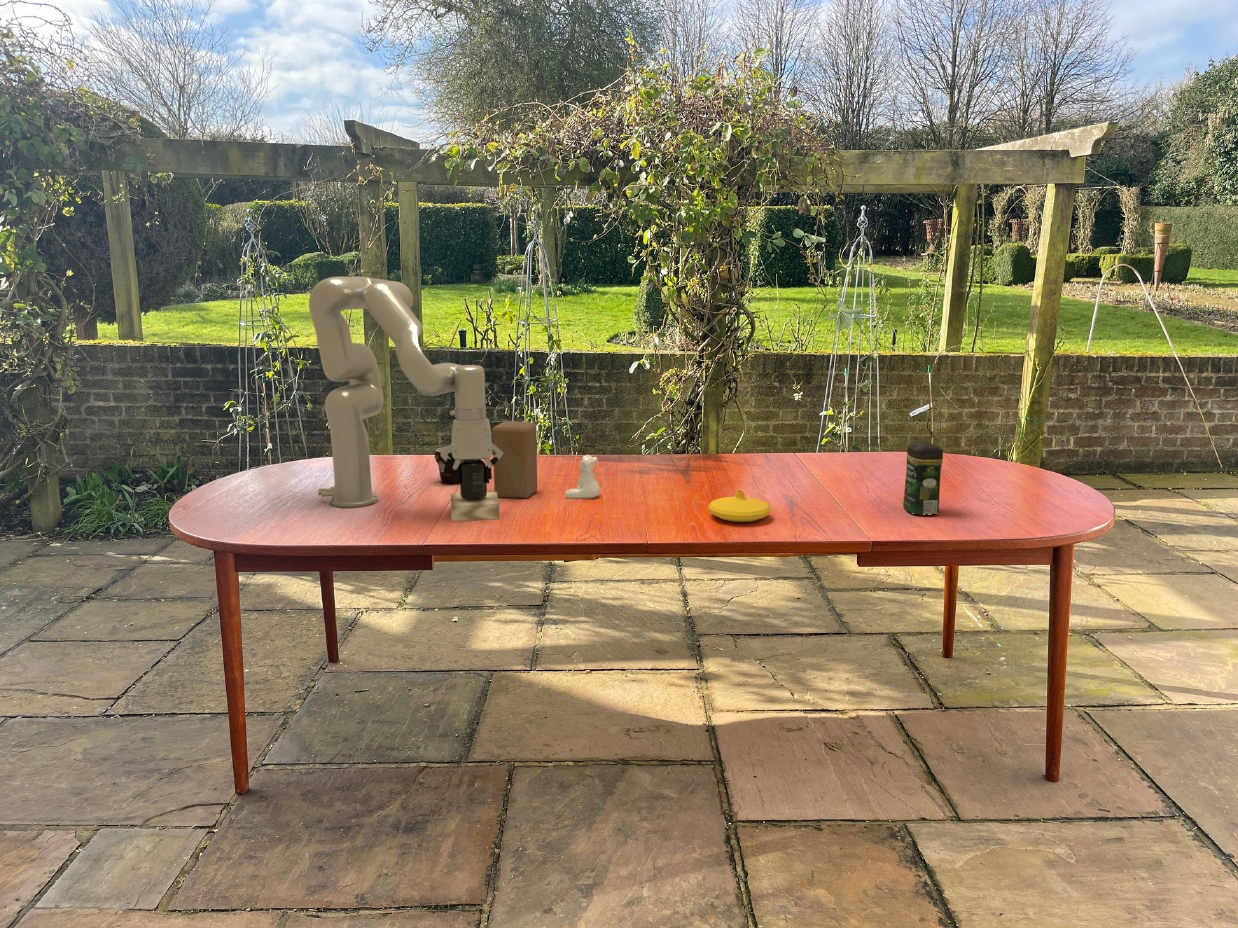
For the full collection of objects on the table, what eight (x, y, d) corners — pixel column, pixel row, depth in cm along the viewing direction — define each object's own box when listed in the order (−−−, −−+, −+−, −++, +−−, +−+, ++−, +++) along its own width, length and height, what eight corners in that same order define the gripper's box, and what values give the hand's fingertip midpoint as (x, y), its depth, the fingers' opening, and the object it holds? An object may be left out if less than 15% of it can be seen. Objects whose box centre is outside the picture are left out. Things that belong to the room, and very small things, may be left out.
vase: (722, 529, 209) (723, 501, 207) (698, 512, 224) (699, 486, 222) (781, 524, 213) (782, 496, 212) (754, 507, 228) (755, 482, 226)
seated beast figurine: (582, 490, 246) (582, 449, 243) (608, 494, 241) (607, 452, 239) (563, 498, 238) (563, 455, 235) (589, 502, 234) (589, 459, 231)
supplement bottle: (488, 493, 225) (487, 448, 222) (485, 499, 218) (484, 453, 216) (462, 493, 225) (460, 448, 222) (458, 499, 218) (456, 453, 215)
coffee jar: (898, 507, 228) (903, 438, 224) (928, 506, 228) (933, 438, 224) (911, 517, 219) (917, 446, 214) (942, 517, 219) (948, 445, 215)
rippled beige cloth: (451, 521, 216) (450, 505, 215) (451, 508, 227) (450, 494, 226) (499, 518, 218) (499, 503, 217) (497, 506, 229) (496, 491, 228)
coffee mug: (469, 484, 253) (468, 451, 251) (440, 486, 250) (438, 453, 248) (461, 475, 264) (460, 443, 261) (433, 478, 261) (431, 446, 258)
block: (527, 499, 236) (526, 428, 232) (493, 497, 238) (491, 426, 234) (538, 490, 246) (536, 421, 241) (505, 488, 248) (503, 420, 243)
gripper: (435, 417, 212) (438, 487, 216) (506, 415, 215) (508, 485, 219) (436, 413, 219) (438, 480, 223) (504, 411, 222) (506, 478, 226)
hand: (473, 482), depth 221 cm, fingers closed on supplement bottle, 6 cm apart
